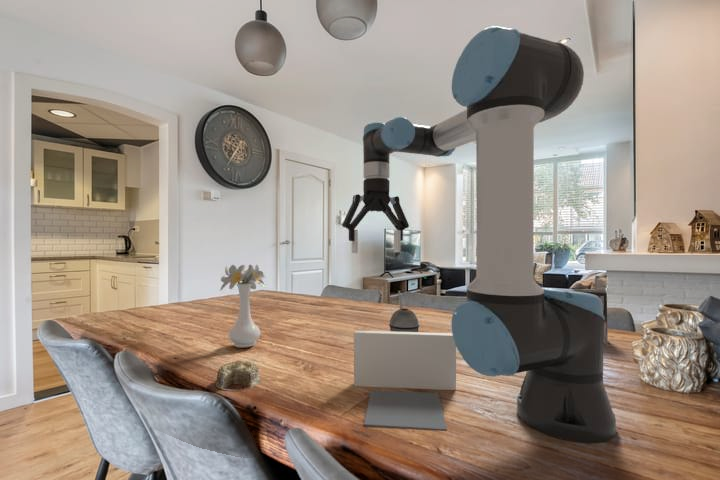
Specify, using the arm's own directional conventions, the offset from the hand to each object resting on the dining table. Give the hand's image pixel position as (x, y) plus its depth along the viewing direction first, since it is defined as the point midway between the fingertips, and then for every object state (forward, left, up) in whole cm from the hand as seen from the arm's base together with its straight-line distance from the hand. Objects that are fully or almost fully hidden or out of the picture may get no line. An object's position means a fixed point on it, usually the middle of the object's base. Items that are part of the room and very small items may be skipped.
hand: (376, 252), depth 103 cm
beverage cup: (-17, +1, -29) cm, 34 cm away
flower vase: (+22, +35, -29) cm, 51 cm away
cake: (-8, +38, -29) cm, 49 cm away
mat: (-34, +10, -29) cm, 46 cm away
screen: (-25, +5, -29) cm, 38 cm away
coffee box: (-16, -68, -29) cm, 76 cm away
